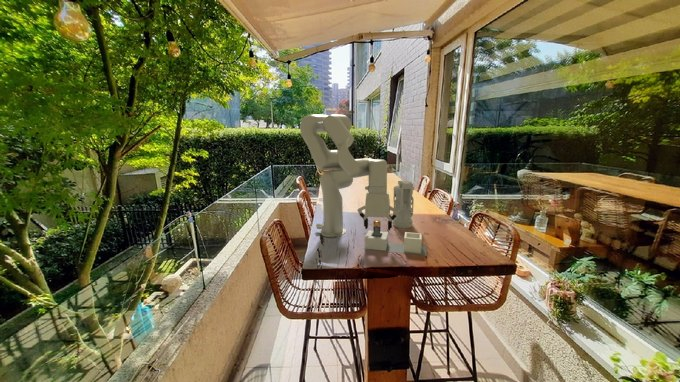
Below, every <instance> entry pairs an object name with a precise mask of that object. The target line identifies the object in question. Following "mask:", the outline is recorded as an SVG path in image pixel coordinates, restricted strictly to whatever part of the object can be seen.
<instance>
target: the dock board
mask: <svg viewBox="0 0 680 382" xmlns="http://www.w3.org/2000/svg"><path fill="white" fill-rule="evenodd" d="M422 237H423V236H422V233H421V232H409V231H408V232H407V231H405V232H404V237H403V243H402V242H401V243H400V242H390V241H389V231H381V230H380V237H375V236H373V230H370V229H369V230H367V233H366V234H365V237H364V244H363V246H362V248H361V250H368V251H378V252H385V253H386V252H387V253H397V254H405V255H406V254H407V255H414V256H415V255H416V256H425V257H424V258H425V259H427V246H426V245H423V244H422V240H423V239H422Z"/></svg>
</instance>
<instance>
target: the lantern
mask: <svg viewBox="0 0 680 382" xmlns="http://www.w3.org/2000/svg"><path fill="white" fill-rule="evenodd" d="M414 190H415V187H414V184H413V183H412V181H411V180H399V181H397V185H396V186H393V199H392V201H393V208H395V209H397V210H398V211H399V213H398V214H397V216H396V218H395V219H393V220H392V226H394V227H396V228H397V227H398V229H409V228H411V227H412V226H413V219H412V217H413V215H414V201H415V200H414V196H413V194H414ZM393 215H394V212H393V211H392V216H393Z"/></svg>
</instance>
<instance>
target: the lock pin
mask: <svg viewBox="0 0 680 382" xmlns="http://www.w3.org/2000/svg"><path fill="white" fill-rule="evenodd" d="M381 222H382V221H381V220H376V219H375V220H373V223H372V225H373V230H372V231H373V236H375V237H380V231H381V228H382V227H381Z"/></svg>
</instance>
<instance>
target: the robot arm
mask: <svg viewBox="0 0 680 382" xmlns="http://www.w3.org/2000/svg"><path fill="white" fill-rule="evenodd" d="M299 129H300V134H301V137H302V139H303V141H304V143H305V144H306V146H307V148H308V149H309V152H310V155H311V157H312V159H313V161H314V164H315V166H316V168H317V169H318V170H319V171H325V172H324V173H322V174H321V176H320V178H319V180H320V181H319V182H320V183H319V184H320V187H321V192H322V193H321V194H322V206H323V207H322V208H323V212H322V213H323V223H322V224H321V223H316V227H315V228H316V229H318V230H321V231H320V234H321V236H322V237H324V238H325V237H326V238H334V239H335V238H337V237H339V236H342V235H345V234H346V232H347V230H346V228H344V224H343V223H344V222H343V221H344V219H343V217H344V216H343V212H344V211H343V208H344V207H343V196H342V194H341V191H340V190H341V189H345V188H349V187H351V186H352V185H353V182H354V178H356V179H357V178H361V177H367V176H368V185H367V186H365V187H364V190H365V191H367V192H366V194H365V195H366V196H365V202H364V203H365V204H364V205H363V206H361V207H359V208H358V209H357V212H358V215H359V216H360V217H361V218H362V220H363V227H364V230H367V229H368V228H369V218H386V219H387V220H388V221H387V232H389V231H391V229H392V228H393V219H395V218H396V216H397V214H398V213H399V211H398V210H397V209H395V208H394V206H391V202H390V195H389V192H388V162H387V160H385V159H382V158H381V159H380V158H377V159H373V158H369V157H367V158H366V157H365V158H364V157H363V158H354V156H353V155H352V154H351V152H350V149H349V147H351V146H352V144H354V139H355V138H354V136H353V134H352V133H351V132H350V131H351V129H352V121H351V119H350V117H348V116H347V115H345V114H328V115H327V114H315V113H314V114H307V115H305V116H303V117H302V118H301V121H300V126H299ZM318 133H326V134H327V135H328V136H329V138H330V139H331V140H332V142H333V144H334V145H335V146H336V148H337V149H331V150H330V149H329V148H328V146H327V144H326V142H325V140H324V139H323V138H322V136H320V135H319V134H318ZM363 210H364V213H363ZM391 212H392V213H393V212H394V215H393V214H392V215H391V214H390V213H391ZM368 217H369V218H368Z"/></svg>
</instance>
